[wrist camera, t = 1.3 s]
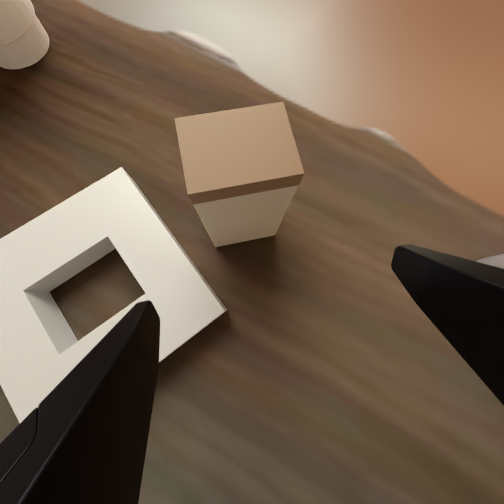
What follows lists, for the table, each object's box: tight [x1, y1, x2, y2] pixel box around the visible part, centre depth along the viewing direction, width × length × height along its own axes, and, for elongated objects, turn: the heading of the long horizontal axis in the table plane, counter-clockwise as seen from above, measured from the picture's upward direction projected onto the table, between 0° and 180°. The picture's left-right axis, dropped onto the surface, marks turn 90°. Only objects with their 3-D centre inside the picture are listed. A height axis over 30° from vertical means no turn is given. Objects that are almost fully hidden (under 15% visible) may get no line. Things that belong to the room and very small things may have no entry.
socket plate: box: [0, 167, 227, 423], centre depth 19 cm, size 16×16×2 cm
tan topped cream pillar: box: [175, 102, 304, 247], centre depth 17 cm, size 4×6×11 cm
